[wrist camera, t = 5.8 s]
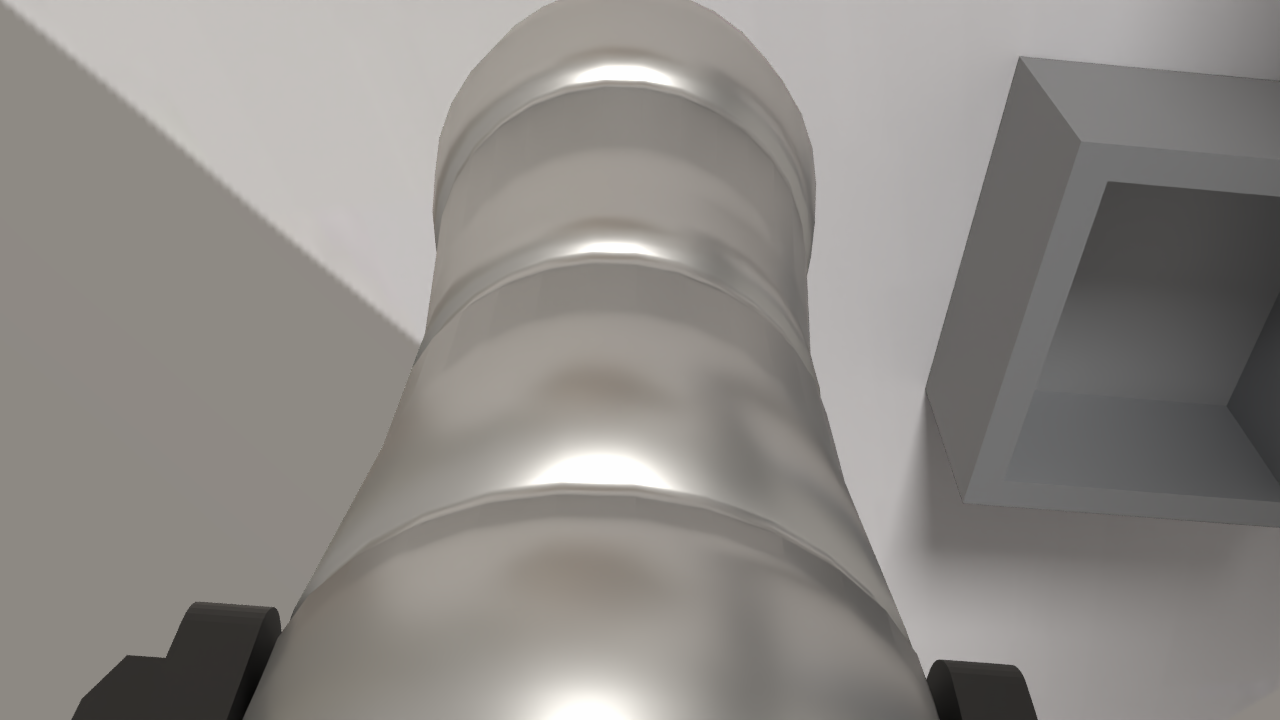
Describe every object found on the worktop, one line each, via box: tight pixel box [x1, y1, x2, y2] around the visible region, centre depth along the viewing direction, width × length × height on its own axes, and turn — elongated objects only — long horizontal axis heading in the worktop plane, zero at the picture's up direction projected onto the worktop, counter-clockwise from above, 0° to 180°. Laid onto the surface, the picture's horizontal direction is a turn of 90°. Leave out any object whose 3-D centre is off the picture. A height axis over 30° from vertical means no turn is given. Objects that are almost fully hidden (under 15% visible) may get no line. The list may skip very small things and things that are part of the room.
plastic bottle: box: [243, 0, 939, 720], centre depth 14 cm, size 6×7×20 cm
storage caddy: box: [926, 57, 1280, 528], centre depth 36 cm, size 12×11×6 cm
